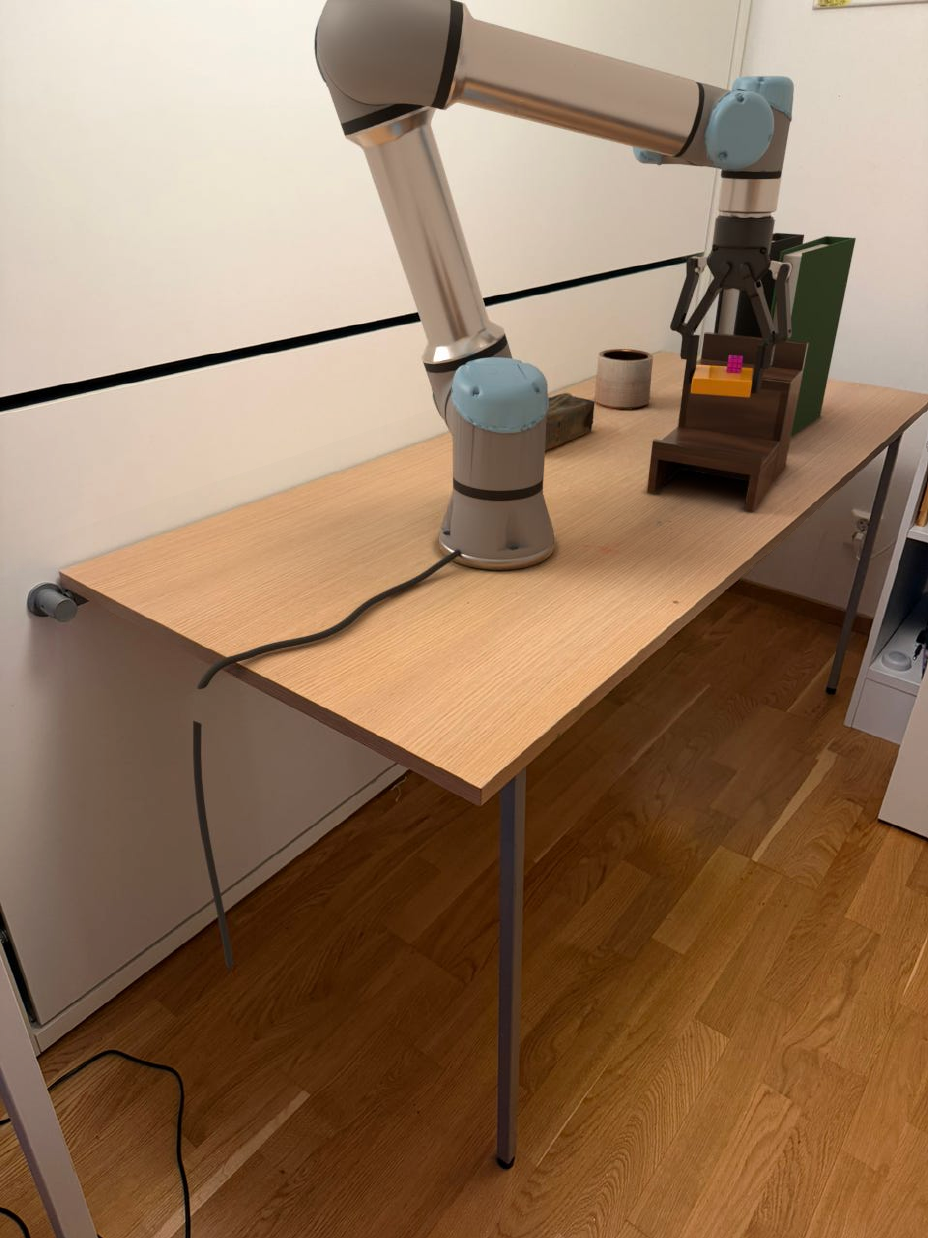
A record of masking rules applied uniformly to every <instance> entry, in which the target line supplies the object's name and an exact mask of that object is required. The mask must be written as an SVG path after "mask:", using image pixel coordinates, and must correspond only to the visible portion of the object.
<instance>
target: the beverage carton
mask: <svg viewBox="0 0 928 1238" xmlns="http://www.w3.org/2000/svg"><path fill="white" fill-rule="evenodd" d="M595 402H596V401H595V400H592V399H587V398H583V397H579V396H574V395H572V394H571V393H570V392H564V393H563V392H562V393H559V394H556V395H553V396H551V397H550V396H549V408H548V410H547V423H546V442H545V451H548V450H551V449H552V448H555V447H558V446H560V445H562V444H565V443H567V442H570V441H572V440H575V439H576V438H579V437H582V436H585V435H586V434H589V433H591V432H592V430H593V424H594V415H595V414H594V413H595Z"/></svg>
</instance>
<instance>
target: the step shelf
mask: <svg viewBox="0 0 928 1238" xmlns="http://www.w3.org/2000/svg"><path fill="white" fill-rule="evenodd" d="M762 342H764V340H763V338H760V337H750V336H741V335H731V334H722V333H714V332H713V331H712V332H711V331H705V332H704V333H703V338H702V347H701V355H700V358H699V359H697V362H696V366H697V365H711V366H726V367H727V363H728V357H729V355H737V356H743V362H742V368H753V374H754V367H755V361H756V354H757V348H758V345H759V344H760V343H762ZM807 348H808V342H798V341H789V340H786V341H785V342H780V343H776V345H775V351H774V357H773V363H772V365H771V367H770V368H769V369H764V371H763V377H762V383H761V389H760V390H759V391H758V392H757V393H756V394H755V393H750V397H735V396H722V395H708V394H694V393H691V387H692V383H691V384H689V385H685V384H684V381H683V383H682V390H681V391H682V392H681V400H680V406H679V416H678V423H677V427H675V428H674V429H673V430H672V431H671V432H670V433H668V434H666V436H665V437H664V438H662V439H656V438H655V439H653V440H652V442H651V443H652V444H651V453H650V460H649V469H648V479H647V488H646V493H647V494H650V495H651V494H652V495H655V494H656V493H657V492H658V491H660V489H661V488H662V487H663V486H664V485H665V484H666V483H667V482H668V481H669V480H670V479H672V477H674V475H676V474H677V473H678V472H679V470H683V471H689V472H695V473H702V474H705V475H712V476H719V477H724V478H729V479H734V480H735V479H736V480H741V481H748V485H747V492H746V499H745V505H744V512H749V513H753V512H754V511H755V510H756V509H757V507H758V506H759V504H760V502H762V500H763V498H764V497H765V496H766V494H767V493H768V492H769V490H770V489H771V487H772V485H774V483H775V481H776V480H777V479H778V477H779V476H780V475H781V473H782V472H783V470H784V469H785V467H786V465H787V459H788V454H789V448H790V444H791V438H792V437H791V433H792V428H793V423H794V417H795V412H796V407H797V402H798V396H799V391H800V386H801V380H802V375H803V370H804V364H805V359H806V354H807ZM684 376H685V373H684V375H683V377H684ZM752 380H753V378H752Z"/></svg>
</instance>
